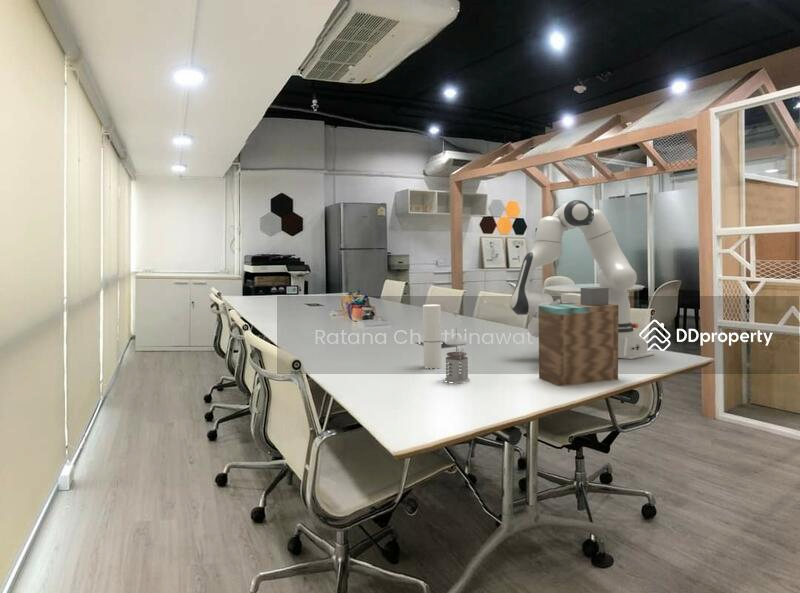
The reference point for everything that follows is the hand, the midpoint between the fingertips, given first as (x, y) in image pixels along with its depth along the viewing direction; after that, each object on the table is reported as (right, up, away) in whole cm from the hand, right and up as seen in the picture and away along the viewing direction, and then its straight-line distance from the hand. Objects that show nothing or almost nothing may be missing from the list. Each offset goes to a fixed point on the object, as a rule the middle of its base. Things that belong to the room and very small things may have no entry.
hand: (571, 300), depth 198 cm
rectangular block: (+2, -1, -6) cm, 6 cm away
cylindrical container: (-51, -27, +14) cm, 59 cm away
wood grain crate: (-1, -28, -12) cm, 30 cm away
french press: (-44, -29, -10) cm, 53 cm away
